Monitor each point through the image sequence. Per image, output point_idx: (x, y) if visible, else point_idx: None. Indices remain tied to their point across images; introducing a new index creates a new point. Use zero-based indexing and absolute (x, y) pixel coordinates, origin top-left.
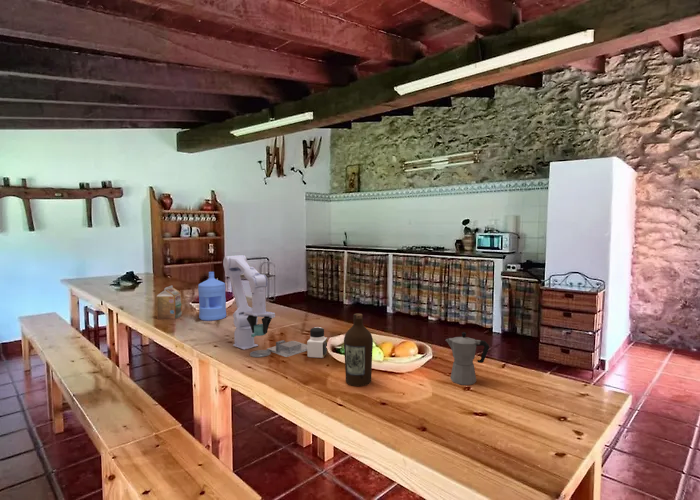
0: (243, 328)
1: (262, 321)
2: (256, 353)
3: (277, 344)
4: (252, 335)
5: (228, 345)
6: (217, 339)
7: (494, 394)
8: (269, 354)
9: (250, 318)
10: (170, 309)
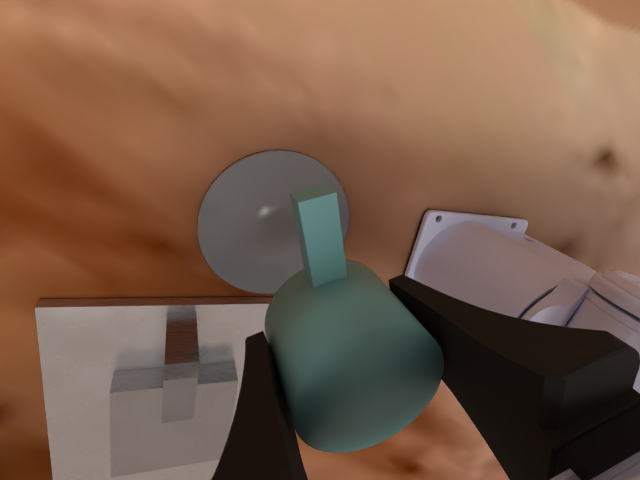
0: (554, 301)
1: (281, 475)
2: None
3: (175, 351)
4: (313, 193)
5: (548, 209)
6: (636, 236)
7: None
8: (203, 254)
9: (562, 385)
10: None
